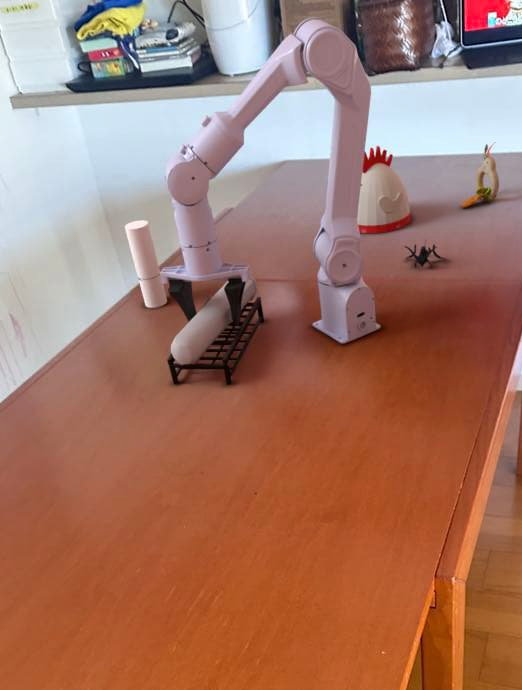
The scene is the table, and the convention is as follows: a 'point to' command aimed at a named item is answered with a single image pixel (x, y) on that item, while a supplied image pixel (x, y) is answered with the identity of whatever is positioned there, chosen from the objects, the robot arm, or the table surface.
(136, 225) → the tube
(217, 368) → the shoe rack
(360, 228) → the kitchen timer
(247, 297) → the tube
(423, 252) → the creature
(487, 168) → the rattle
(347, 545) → the table surface
